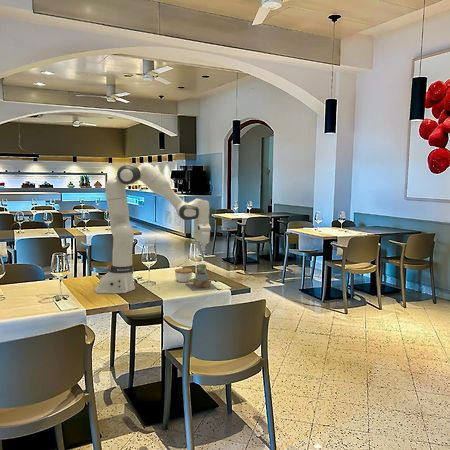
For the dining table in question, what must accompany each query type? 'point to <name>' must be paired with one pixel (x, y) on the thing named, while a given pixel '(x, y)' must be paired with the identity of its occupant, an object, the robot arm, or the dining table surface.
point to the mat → (201, 288)
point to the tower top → (201, 277)
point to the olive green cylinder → (201, 269)
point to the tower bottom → (201, 284)
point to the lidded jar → (183, 274)
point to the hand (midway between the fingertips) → (200, 249)
